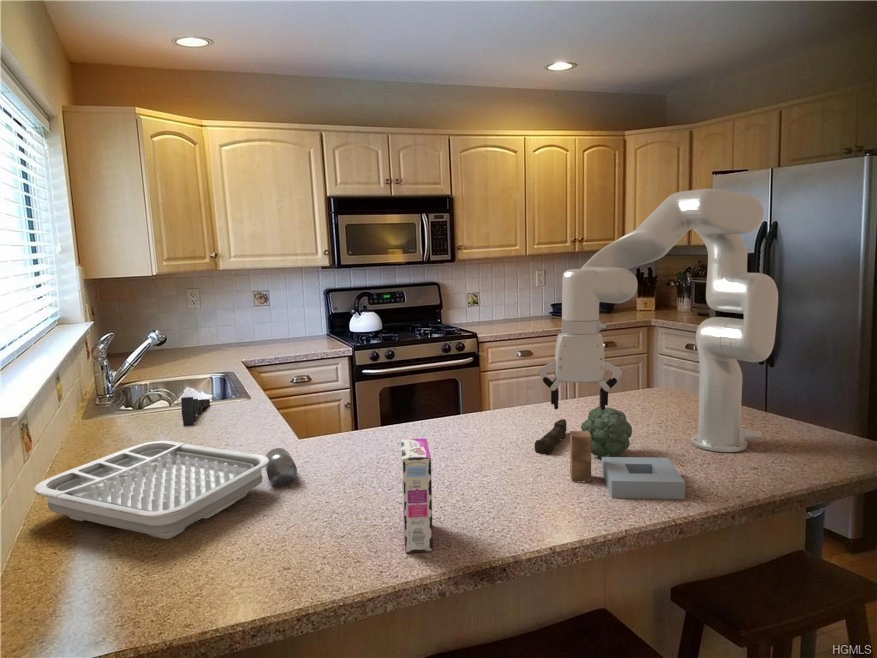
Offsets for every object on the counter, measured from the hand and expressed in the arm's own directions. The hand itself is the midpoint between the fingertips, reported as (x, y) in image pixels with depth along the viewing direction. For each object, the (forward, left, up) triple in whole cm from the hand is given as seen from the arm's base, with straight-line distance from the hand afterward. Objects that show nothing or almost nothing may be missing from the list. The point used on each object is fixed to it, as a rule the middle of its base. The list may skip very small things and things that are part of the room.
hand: (578, 408), depth 130 cm
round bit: (+68, 0, -13) cm, 69 cm away
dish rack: (+85, +18, -16) cm, 89 cm away
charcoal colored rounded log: (+4, -24, -16) cm, 30 cm away
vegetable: (-7, -18, -16) cm, 25 cm away
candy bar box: (+31, +29, -16) cm, 45 cm away
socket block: (-12, +3, -16) cm, 20 cm away
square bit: (0, 0, -16) cm, 16 cm away
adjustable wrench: (+114, -50, -16) cm, 125 cm away
